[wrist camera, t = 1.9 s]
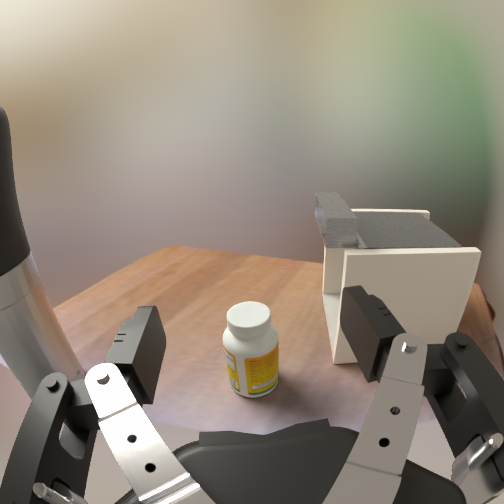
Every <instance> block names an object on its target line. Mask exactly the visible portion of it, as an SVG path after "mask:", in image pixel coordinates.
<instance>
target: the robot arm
mask: <svg viewBox="0 0 504 504" xmlns="http://www.w3.org/2000/svg"><path fill="white" fill-rule="evenodd" d="M340 325H341V329H342V331H343V333H344V335H345V337H346V339H347V341H348V343H349V345H350V347H351V349H352V351H353V353H354V355H355V357H356V359H357V361H358V363H359V365H360V368H361V370H362V372H363V374H364V376H365V378H366V380H367V382H372V381H376V380H377V381H378V383H379V386H378V389H377V391H376V394H375V397H374V399H373V402H372V405H371V407H370V410H369V412H368V415H367V417H366V419H365V422H364V424H363V426H362V429H361V431H360V433H359V432H357V431H354V430H351V429H347V428H343V427H333V426H330V425H329V421H328V418H327V419H322V420H317V421H311V422H306V423H299V424H295V425H293V426H290V427H287V428H285V429H282V430H279V431H276V432H273V433H270V434H267V435H258V434H249V433H242V432H235V431H218V432H200V433H199V440H198V441H194V442H191V443H188V444H186V445H184V446H181V447H180V448H178V449H176V450H175V451H173V452H171V451H170V450H169V448H168V447H167V445H166V444H165V443H164V441H163V440H162V439H161V437H160V436H159V434H158V433H157V431H156V430H155V429H154V427H153V426H152V424H151V423H150V421H149V420H148V418H147V417H146V415H145V414H144V412H143V410H142V405H143V404H153V399H154V395H155V390H156V386H157V382H158V377H159V373H160V369H161V365H162V361H163V357H164V353H165V349H166V336H165V332H164V329H163V326H162V322H161V319H160V316H159V313H158V309H157V307H156V306H141V307H138V308H137V310H136V313H135V315H134V317H133V318H129V319H127V320H126V321H125V322H124V323H123V324H122V325H121V327H120V329H119V331H118V333H117V335H116V337H115V339H114V342H113V344H112V346H111V348H110V350H109V352H108V355H107V357H106V359H105V361H104V364H100V365H97V366H95V367H94V368H92V369H91V370H90V371H89V372H88V374H87V375H86V379H85V373H84V370H83V368H82V367H81V365H80V363H79V361H78V359H77V358H76V356H75V354H74V352H73V350H72V348H71V346H70V344H69V342H68V340H67V338H66V336H65V334H64V332H63V330H62V328H61V326H60V324H59V322H58V320H57V318H56V315H55V313H54V311H53V309H52V306H51V304H50V302H49V299H48V297H47V294H46V292H45V289H44V287H43V284H42V282H41V279H40V276H39V274H38V271H37V268H36V265H35V262H34V260H33V256H32V253H31V251H30V247H29V244H28V241H27V237H26V234H25V230H24V226H23V223H22V219H21V215H20V210H19V206H18V201H17V195H16V189H15V182H14V173H13V161H12V148H11V136H10V128H9V122H8V118H7V115H6V113H5V111H4V109H3V108H2V107H0V354H1V356H2V357H3V359H4V361H5V362H6V364H7V365H8V367H9V368H10V370H11V371H12V373H13V374H14V376H15V377H16V379H17V380H18V382H19V383H20V384H21V386H22V387H23V388H24V390H25V391H26V393H27V394H28V395H29V396H30V398H31V399H32V402H31V404H30V406H29V408H28V411H27V413H26V415H25V418H24V420H23V423H22V425H21V427H20V430H19V432H18V435H17V438H16V441H15V443H14V446H13V449H12V452H11V454H10V458H9V460H8V463H7V467H6V470H5V474H4V477H3V480H2V484H1V487H0V504H88V503H87V502H86V501H85V500H84V494H85V488H86V482H87V476H88V471H89V466H90V461H91V457H92V452H93V447H94V443H95V438H96V434H97V430H99V429H101V430H102V432H103V434H104V436H105V438H106V440H107V442H108V445H109V447H110V448H111V451H112V453H113V455H114V456H115V458H116V460H117V462H118V464H119V466H120V467H121V469H122V471H123V473H124V475H125V476H126V478H127V480H128V481H129V483H130V485H131V486H132V489H131V490H130V491H129V492H128V493H126V494H125V495H124V496H123V497H122V498H121V499H119V500H118V501H117V502H116V503H115V504H486V503H488V502H490V501H491V500H493V499H494V498H496V497H498V496H499V495H501V494H502V493H503V492H504V381H503V379H502V378H501V376H500V375H499V374H498V372H497V371H496V369H495V368H494V367H493V365H492V364H491V363H490V361H489V360H488V359H487V357H486V356H485V355H484V353H483V352H482V351H481V350H480V348H479V347H478V346H477V345H476V343H475V342H474V341H473V340H472V339H471V338H470V337H469V336H468V335H466V334H463V333H459V332H454V333H451V334H449V335H448V336H447V337H446V339H445V341H444V344H427V343H426V342H425V340H424V339H423V338H422V337H420V336H418V335H416V334H413V333H407V332H406V331H405V330H404V328H403V327H402V326H401V324H400V323H399V322H398V320H397V319H396V318H395V317H394V315H393V314H392V313H391V311H390V310H389V309H388V308H387V306H386V305H385V304H384V302H383V301H382V300H381V299H379V298H378V297H376V296H374V295H373V294H372V295H368V294H367V292H366V291H365V290H364V288H363V287H362V286H361V285H357V286H350V287H344V288H343V291H342V300H341V310H340ZM458 382H459V383H460V385H461V387H462V388H463V390H464V391H465V394H466V399H465V397H464V395H463V393H462V392H461V390H460V388H459V387H458V385H457V384H458ZM423 396H426V397H427V399H428V401H429V403H430V405H431V407H432V409H433V411H434V413H435V416H436V418H437V420H438V422H439V424H440V426H441V428H442V430H443V432H444V434H445V437H446V439H447V441H448V443H449V446H450V448H451V450H452V452H453V455H454V457H455V460H454V462H453V465H452V475H451V480H452V481H453V482H452V481H451V480H449V479H446V478H444V477H442V476H440V475H438V474H436V473H433V472H431V471H429V470H427V469H425V468H423V467H421V466H419V465H417V464H415V463H413V462H412V461H410V460H407V459H406V458H407V455H408V452H409V449H410V445H411V442H412V439H413V435H414V431H415V428H416V424H417V420H418V416H419V412H420V407H421V403H422V398H423ZM63 422H64V423H65V425H64V428H63V431H62V435H61V438H60V441H59V433H60V430H61V427H62V424H63Z"/></svg>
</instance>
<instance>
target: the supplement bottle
mask: <svg viewBox="0 0 504 504" xmlns="http://www.w3.org/2000/svg"><path fill="white" fill-rule="evenodd" d="M227 326H228V327H227V328H226V330H225V332H224V334H223V347H224V353H225V358H226V364H227V369H228V375H229V380H230V384H231V386H232V388H233V389H234V391H235V392H237V393H238V394H240V395H242V396H245V397H260V396H264V395H266V394H268V393H270V392H271V391H272V390H273V389H274V388H275V387H276V385H277V383H278V370H279V369H278V333H277V330H276V328H275V327H274V326H273V325H272V324H271V313H270V310H269V308H268V307H267V306H266V305H264V304H262V303H259V302H251V301H249V302H242V303H239V304H236V305H234V306H233V307H232V308H230V309H229V311H228V312H227Z"/></svg>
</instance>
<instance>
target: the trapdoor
mask: <svg viewBox="0 0 504 504" xmlns="http://www.w3.org/2000/svg"><path fill="white" fill-rule="evenodd" d="M315 216H316V220H317V223H318V226H319V228H320V231H321V235H322V238H323V241H324V244H325V247H326V248H354V249H408V248H462V246H461V245H460V244H459V243H457V242H456V241H455V240H454V239H453V238H451V237H450V236H449V235H447V234H446V233H445V232H444V231H443V230H441V229H440V228H439V227H437V226H436V225H435V224H434V223H432V222H431V221H430V220H428V219H427V218H426V217H424V216H423V215H422V214H420V213H401V212H353V211H352V210H351V209H350V208H349V206H348V205H347V204H346V203H345V201H344V200H343V199H342V197H341V196H340V195H339V194H338V192H337V193H336V192H332V193H331V192H325V193H324V192H321V193H320V192H316V193H315Z"/></svg>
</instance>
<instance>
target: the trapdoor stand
mask: <svg viewBox="0 0 504 504" xmlns="http://www.w3.org/2000/svg"><path fill="white" fill-rule="evenodd" d="M351 210H352V211H353V212H401V213H420V214H422V215H423V216H424V217H426V218H427V219H428V220H429V216H430V212H428V211H427V210H398V209H397V210H396V209H351ZM480 256H481V251H480V250H479V249H477V248H476V247H466V248H408V249H354V248H326V247H325V251H324V273H323V290H322V297H323V302H324V308H325V314H326V319H327V325H328V331H329V338H330V344H331V350H332V357H333V364H343V363H357V362H358V361H357V359H356V357H355V355H354V353H353V351H352V349H351V347H350V345H349V343H348V341H347V339H346V337H345V335H344V333H343V331H342V329H341V325H340V310H341V300H342V291H343V288H344V287H350V286H357V285H361V286H362V287H363V288H364V290H365V291H366V292H367V294H368V295H372V294H373V295H374V296H376V297H378V298H379V299H381V300H382V301H383V302H384V304H385V305H386V306H387V308H388V309H389V310H390V311H391V313H392V314H393V315H394V317H395V318H396V319H397V320H398V322H399V323H400V324H401V326H402V327H403V328H404V330H405V331H406V332H407V333H413V334H416V335H418V336H420V337H422V338H423V339H424V340H425V342H426V343H427V344H444V341H445V339H446V337H447V336H448V335H449V334H451V333H454V332H456V331H457V329H458V326H459V323H460V321H461V318H462V315H463V313H464V310H465V307H466V304H467V301H468V298H469V295H470V292H471V289H472V285H473V282H474V278H475V275H476V271H477V268H478V264H479V260H480Z"/></svg>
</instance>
